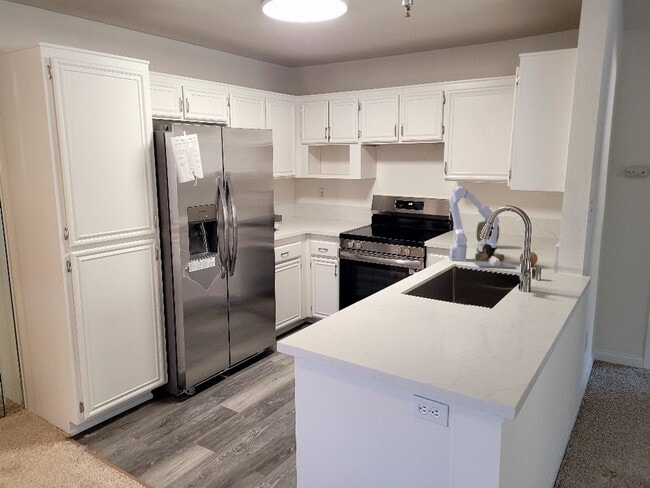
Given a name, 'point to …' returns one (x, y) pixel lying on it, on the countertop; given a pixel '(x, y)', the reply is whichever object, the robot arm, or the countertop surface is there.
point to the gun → (481, 246)
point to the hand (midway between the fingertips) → (489, 257)
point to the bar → (485, 256)
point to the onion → (531, 258)
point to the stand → (494, 264)
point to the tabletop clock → (480, 227)
